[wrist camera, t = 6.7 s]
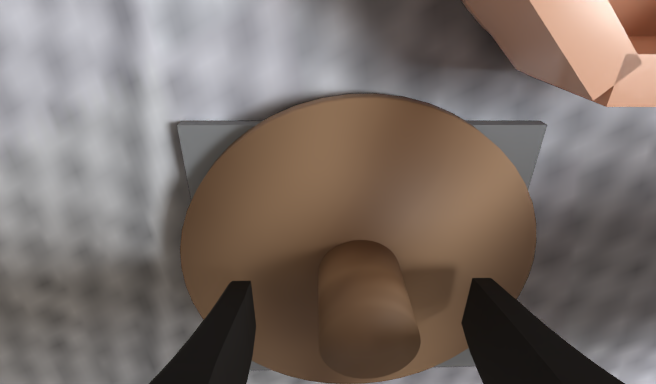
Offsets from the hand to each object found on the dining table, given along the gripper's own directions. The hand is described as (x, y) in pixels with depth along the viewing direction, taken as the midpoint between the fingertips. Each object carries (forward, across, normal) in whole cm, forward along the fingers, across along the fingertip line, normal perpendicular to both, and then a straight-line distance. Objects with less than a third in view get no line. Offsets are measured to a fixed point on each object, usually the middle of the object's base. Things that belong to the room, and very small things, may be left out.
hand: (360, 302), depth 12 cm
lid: (+2, 0, 0) cm, 2 cm away
